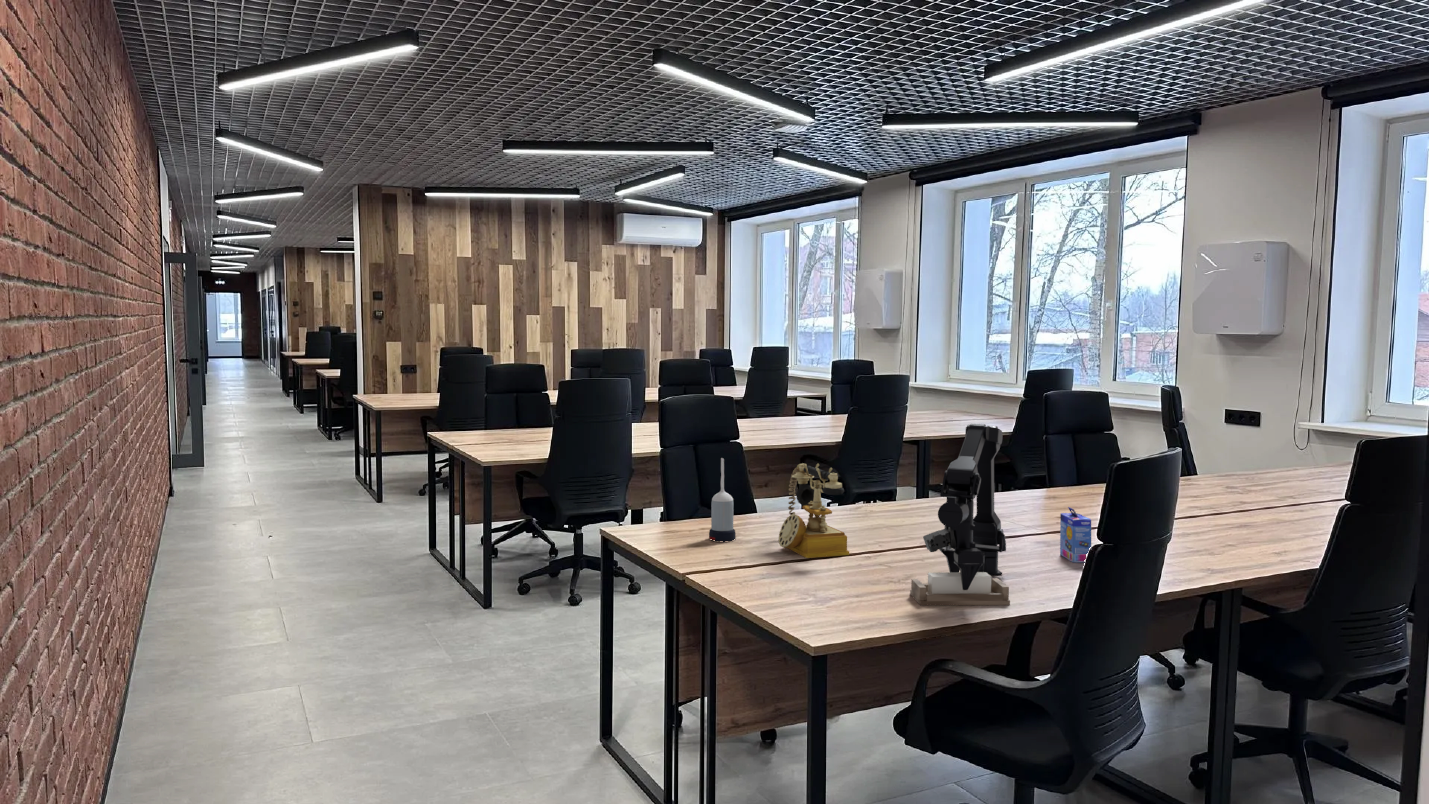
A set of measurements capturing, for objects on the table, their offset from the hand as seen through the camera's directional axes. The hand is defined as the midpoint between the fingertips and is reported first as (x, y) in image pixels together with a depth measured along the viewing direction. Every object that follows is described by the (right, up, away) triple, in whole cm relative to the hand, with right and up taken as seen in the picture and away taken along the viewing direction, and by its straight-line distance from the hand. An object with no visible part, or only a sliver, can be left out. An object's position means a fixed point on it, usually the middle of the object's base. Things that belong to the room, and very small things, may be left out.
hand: (959, 584), depth 230 cm
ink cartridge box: (+43, -1, +43) cm, 61 cm away
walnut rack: (0, -4, 0) cm, 4 cm away
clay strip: (0, -3, 0) cm, 2 cm away
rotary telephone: (-32, 0, +55) cm, 64 cm away
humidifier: (-56, +1, +67) cm, 87 cm away
